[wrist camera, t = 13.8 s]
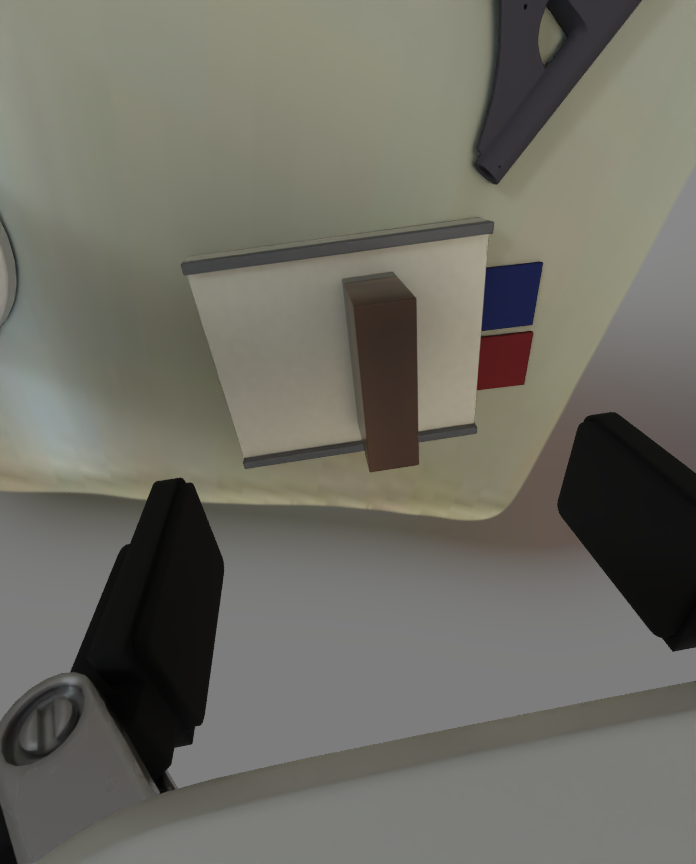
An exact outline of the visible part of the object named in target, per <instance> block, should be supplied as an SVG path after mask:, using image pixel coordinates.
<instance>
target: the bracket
mask: <svg viewBox="0 0 696 864" xmlns="http://www.w3.org/2000/svg"><path fill="white" fill-rule="evenodd" d="M641 1H642V0H499V38H498V54H497V64H496V72H495V79H494V85H493V90H492V95H491V100H490V104H489V108H488V112H487V116H486V119H485V123H484V126H483V129H482V132H481V135H480V139H479V142H478V145H477V151H478V152H479V153H480V157H479V159H478V160H477V161H476V163H475V167H476V169H477V170H478V172H479V173H480V174H481V175H482V176H483V177H484V178H486V179H487V180H488V181H490V182H491V183H493V184H496V185H497V184H498V183H499V182H500V180H501V179H502V178H503V177H504V175H505V174H506V173H507V172H508V170H509V169H510V168H511V166H512V165H513V164H514V163H515V161H516V160H517V159H518V158H519V156H520V155H521V154H522V152H523V151H524V150H525V149H526V147H527V146H528V145H529V144H530V142H531V141H532V140H533V138H534V137H535V136H536V135H537V133H538V132H539V131H540V130H541V128H542V127H543V126H544V124H545V123H546V122H547V121H548V119H549V118H550V117H551V116H552V114H553V113H554V112H555V110H556V109H557V108H558V107H559V105H560V104H561V103H562V102H563V100H564V99H565V98H566V96H567V95H568V94H569V93H570V91H571V90H572V89H573V87H574V86H575V85H576V84H577V82H578V81H579V80H580V79H581V77H582V76H583V75H584V73H585V72H586V71H587V70H588V68H589V67H590V66H591V65H592V63H593V62H594V61H595V59H596V58H597V57H598V56H599V54H600V53H601V52H602V51H603V49H604V48H605V47H606V45H607V44H608V43H609V42H610V40H611V39H612V38H613V37H614V35H615V34H616V33H617V31H618V30H619V29H620V28H621V26H622V25H623V24H624V23H625V21H626V20H627V19H628V17H629V16H630V15H631V14H632V12H633V11H634V10H635V9H636V7H637V6H638V5H639V3H640V2H641ZM546 5H547V6H548V8H549V9H550V11H551V12H552V14H553V15H554V16H555V18H556V19H557V21H558V22H559V24H560V25H561V27H562V28H563V30H564V31H565V32H566V34H567V36H568V38H567V40H566V42H565V43H564V45H563V46H562V47H561V49H560V50H559V52H558V53H557V54H556V56H555V57H554V58H553V60H552V61H551V62H550V64H549V65H548V66H547V68H545V67H544V65H543V63H542V60H541V57H540V53H539V47H538V34H539V27H540V22H541V18H542V15H543V12H544V10H545V7H546ZM523 7H524V8H523Z"/></svg>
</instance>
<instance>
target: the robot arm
mask: <svg viewBox="0 0 696 864" xmlns="http://www.w3.org/2000/svg"><path fill="white" fill-rule="evenodd" d="M16 285H17V281H16V269H15V260H14V257H13V253H12V250H11V246H10V243H9V239H8V236H7V234H6V232H5V230H4V228H3V226H2V224H1V222H0V326H1V325H2V324H3V322H4V321H5V320H6V319H7V317H8V314H9V312H10V310H11V308H12V305H13V303H14V298H15V291H16ZM557 505H558V511H559V513H560V515H561V517H562V518H563V519H564V521H565V522H566V523H567V524H568V526H569V527H570V528H571V530H572V531H573V532H574V533H575V535H576V536H577V537H578V538H579V540H580V541H581V542H582V544H583V545H584V546H585V548H586V549H587V550H588V551H589V553H590V554H591V555H592V557H593V558H594V559H595V560H596V562H597V563H598V564H599V566H600V567H601V568H602V569H603V571H604V572H605V573H606V575H607V576H608V577H609V578H610V580H611V581H612V582H613V583H614V585H615V586H616V587H617V589H618V590H619V591H620V592H621V593H622V595H623V596H624V598H625V599H626V600H627V601H628V603H629V604H630V605H631V607H632V608H633V609H634V610H635V612H636V613H637V614H638V616H640V618H641V619H642V621H643V622H644V623H645V625H646V626H647V627H648V628H649V630H650V631H651V632H652V633H653V634H654V635H656V636H658V637H660V638H662V639H663V640H664V641H665V642H666V644H667V645H668V646H669V647H670V649H671V650H672V651H673V652H674V651H679V650H683V649H689V648H694V647H696V473H694V472H693V471H692V470H691V469H689V468H688V467H687V466H686V465H684V464H683V463H682V462H680V461H679V460H678V459H676V458H675V457H674V456H672V455H671V454H670V453H668V452H667V451H666V450H665V449H663V448H662V447H661V446H659V445H658V444H657V443H655V442H654V441H653V440H651V439H650V438H649V437H648V436H646V435H645V434H644V433H642V432H641V431H640V430H638V429H637V428H636V427H634V426H633V425H632V424H630V423H629V422H628V421H627V420H625V419H624V418H623V417H621V416H620V415H619V414H617V413H615V412H609V413H602V414H596V415H590V416H587V417H586V418H585V419H584V422H583V423H581V424H580V425H579V427H578V429H577V432H576V436H575V440H574V444H573V447H572V451H571V455H570V458H569V462H568V466H567V469H566V473H565V477H564V480H563V484H562V488H561V491H560V495H559V499H558V504H557ZM223 576H224V562H223V558H222V555H221V553H220V550H219V548H218V545H217V542H216V540H215V537H214V535H213V532H212V530H211V527H210V525H209V522H208V520H207V517H206V514H205V512H204V509H203V507H202V504H201V502H200V499H199V497H198V494H197V492H196V489H195V487H194V485H193V484H192V483H186V482H185V481H184V479H183V478H175V479H169V480H162V481H156V482H155V483H154V484H153V486H152V489H151V491H150V494H149V497H148V499H147V502H146V504H145V507H144V510H143V512H142V515H141V517H140V520H139V523H138V525H137V528H136V530H135V533H134V535H133V538H132V540H131V543H130V544H128V545H125V546H124V547H123V548H122V549H121V550H120V552H119V554H118V556H117V559H116V561H115V564H114V566H113V568H112V571H111V573H110V576H109V578H108V581H107V583H106V586H105V588H104V591H103V593H102V595H101V598H100V600H99V603H98V605H97V608H96V610H95V613H94V615H93V618H92V620H91V623H90V625H89V628H88V630H87V632H86V635H85V637H84V640H83V642H82V645H81V647H80V649H79V652H78V655H77V657H76V659H75V662H74V664H73V667H72V669H71V672H70V673H61V674H58V675H55V676H53V677H50V678H48V679H46V680H44V681H42V682H40V683H39V684H37V685H36V686H34V687H32V688H31V689H30V690H28V691H27V692H26V693H25V694H24V695H23V696H22V697H21V698H19V699H18V700H17V701H16V702H15V703H14V704H13V706H12V707H11V708H10V709H9V710H8V712H7V713H6V714H5V715H4V717H3V718H2V720H1V722H0V864H696V681H693V682H687V683H683V684H677V685H672V686H667V687H662V688H656V689H652V690H646V691H641V692H636V693H631V694H625V695H620V696H615V697H610V698H604V699H600V700H594V701H589V702H584V703H579V704H575V705H569V706H564V707H559V708H554V709H549V710H544V711H539V712H533V713H528V714H524V715H518V716H514V717H508V718H504V719H498V720H494V721H488V722H483V723H478V724H473V725H468V726H463V727H458V728H453V729H448V730H443V731H438V732H433V733H428V734H423V735H418V736H413V737H408V738H404V739H399V740H394V741H389V742H384V743H379V744H374V745H369V746H364V747H360V748H354V749H349V750H345V751H340V752H335V753H330V754H325V755H320V756H315V757H310V758H305V759H301V760H296V761H292V762H287V763H283V764H278V765H274V766H269V767H265V768H260V769H256V770H252V771H247V772H242V773H238V774H234V775H229V776H224V777H220V778H215V779H212V780H208V781H204V782H200V783H197V784H193V785H190V786H186V787H183V788H179V789H178V787H177V786H176V784H175V782H174V781H173V779H172V777H171V776H170V774H169V772H168V771H167V769H168V768H169V766H170V765H171V763H172V758H173V752H174V748H175V747H181V746H186V745H191V744H192V743H193V736H194V729H195V726H200V725H201V724H202V723H203V719H204V716H205V709H206V702H207V694H208V687H209V679H210V672H211V665H212V658H213V650H214V642H215V635H216V628H217V621H218V612H219V606H220V598H221V591H222V584H223Z"/></svg>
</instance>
